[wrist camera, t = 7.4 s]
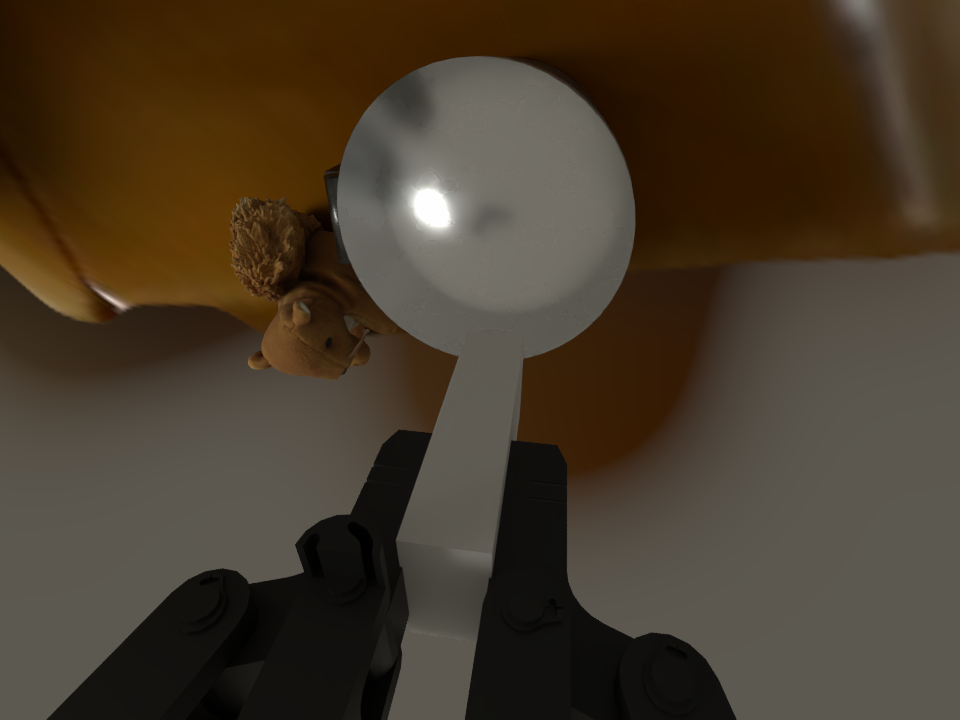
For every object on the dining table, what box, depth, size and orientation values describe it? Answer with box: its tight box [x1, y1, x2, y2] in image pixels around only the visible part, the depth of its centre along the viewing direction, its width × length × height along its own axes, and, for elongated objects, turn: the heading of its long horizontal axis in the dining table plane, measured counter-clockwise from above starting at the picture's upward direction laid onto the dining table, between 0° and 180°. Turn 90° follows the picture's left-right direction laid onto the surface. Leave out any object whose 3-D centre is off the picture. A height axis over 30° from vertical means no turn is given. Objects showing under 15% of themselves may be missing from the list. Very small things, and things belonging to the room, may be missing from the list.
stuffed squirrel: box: [229, 196, 398, 380], centre depth 35 cm, size 10×14×13 cm
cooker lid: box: [324, 56, 635, 358], centre depth 24 cm, size 15×15×1 cm
